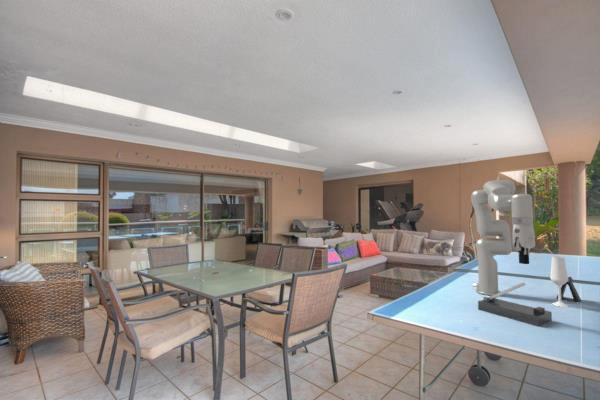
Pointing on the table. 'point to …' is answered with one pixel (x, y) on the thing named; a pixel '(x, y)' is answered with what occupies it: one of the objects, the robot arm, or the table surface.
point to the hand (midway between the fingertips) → (524, 263)
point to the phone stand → (572, 289)
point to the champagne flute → (558, 276)
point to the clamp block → (516, 311)
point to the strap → (506, 291)
